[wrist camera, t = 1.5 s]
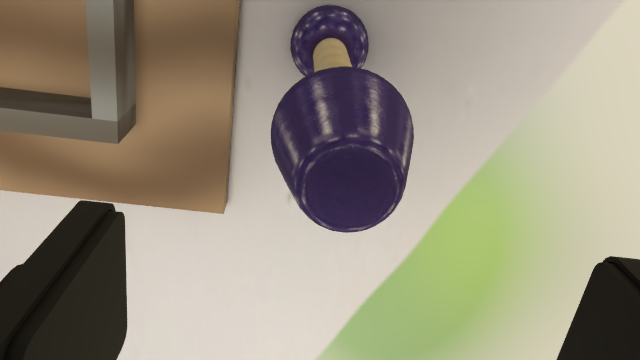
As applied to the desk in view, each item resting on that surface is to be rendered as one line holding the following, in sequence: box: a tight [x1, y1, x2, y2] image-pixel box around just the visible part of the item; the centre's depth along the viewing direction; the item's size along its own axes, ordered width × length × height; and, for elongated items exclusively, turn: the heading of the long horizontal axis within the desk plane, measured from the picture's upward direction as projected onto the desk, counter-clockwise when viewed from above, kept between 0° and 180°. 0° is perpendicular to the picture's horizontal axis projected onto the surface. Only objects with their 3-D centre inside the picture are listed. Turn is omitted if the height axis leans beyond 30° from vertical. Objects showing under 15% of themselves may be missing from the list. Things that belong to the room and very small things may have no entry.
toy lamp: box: [271, 5, 414, 232], centre depth 21 cm, size 5×5×17 cm
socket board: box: [0, 0, 240, 214], centre depth 26 cm, size 20×20×4 cm
